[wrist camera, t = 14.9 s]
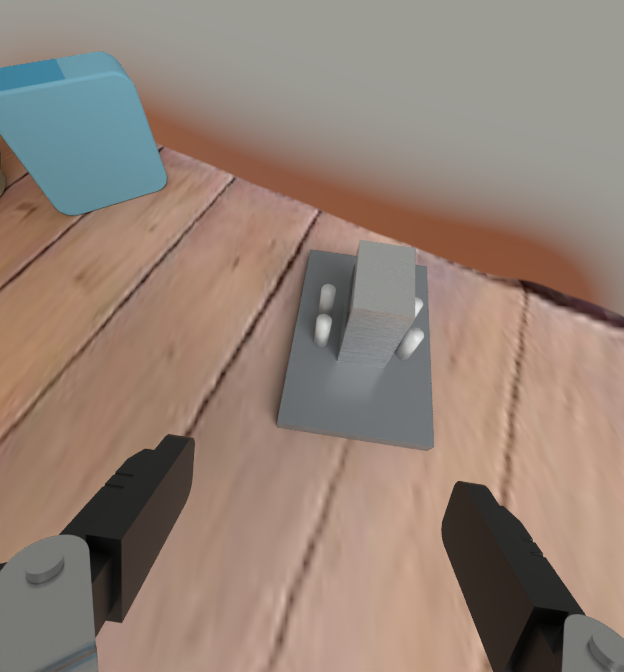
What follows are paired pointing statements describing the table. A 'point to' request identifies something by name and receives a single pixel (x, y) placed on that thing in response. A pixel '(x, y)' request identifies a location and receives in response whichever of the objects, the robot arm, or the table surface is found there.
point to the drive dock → (356, 368)
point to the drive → (377, 303)
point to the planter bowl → (2, 180)
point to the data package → (80, 131)
